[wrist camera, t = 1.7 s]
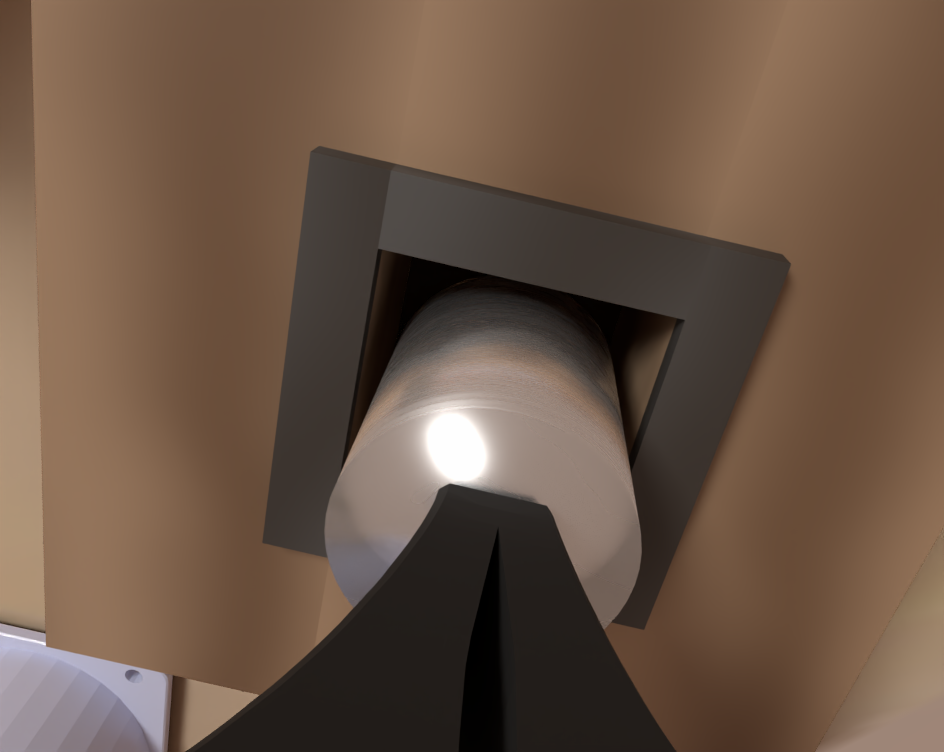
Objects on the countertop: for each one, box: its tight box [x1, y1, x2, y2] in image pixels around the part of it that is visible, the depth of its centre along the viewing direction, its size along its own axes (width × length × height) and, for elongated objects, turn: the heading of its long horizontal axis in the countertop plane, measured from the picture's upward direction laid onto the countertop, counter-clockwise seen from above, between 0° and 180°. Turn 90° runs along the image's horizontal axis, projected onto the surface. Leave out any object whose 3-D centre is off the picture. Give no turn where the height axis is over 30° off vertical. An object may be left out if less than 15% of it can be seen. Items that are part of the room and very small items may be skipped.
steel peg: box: [324, 275, 642, 629], centre depth 13 cm, size 4×4×5 cm
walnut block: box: [31, 0, 944, 752], centre depth 16 cm, size 16×16×6 cm
